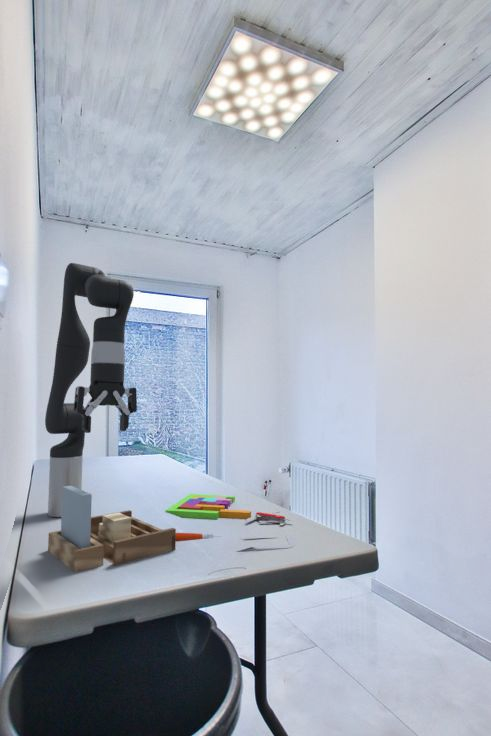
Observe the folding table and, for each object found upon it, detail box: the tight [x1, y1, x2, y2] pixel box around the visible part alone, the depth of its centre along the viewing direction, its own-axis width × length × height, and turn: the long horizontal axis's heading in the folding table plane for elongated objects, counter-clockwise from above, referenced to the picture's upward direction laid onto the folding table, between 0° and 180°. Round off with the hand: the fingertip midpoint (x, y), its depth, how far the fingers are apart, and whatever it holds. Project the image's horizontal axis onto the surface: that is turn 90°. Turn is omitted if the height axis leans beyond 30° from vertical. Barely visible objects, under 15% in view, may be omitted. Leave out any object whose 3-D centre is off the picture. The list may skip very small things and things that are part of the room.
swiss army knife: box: [244, 511, 293, 526], centre depth 121 cm, size 12×14×2 cm
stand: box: [47, 529, 104, 573], centre depth 90 cm, size 16×7×5 cm, turn 42°
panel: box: [60, 486, 93, 549], centre depth 91 cm, size 12×2×14 cm, turn 41°
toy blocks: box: [165, 493, 252, 520], centre depth 136 cm, size 23×2×25 cm
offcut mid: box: [99, 523, 131, 542], centre depth 98 cm, size 8×4×2 cm, turn 42°
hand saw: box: [176, 532, 295, 553], centre depth 101 cm, size 33×3×10 cm
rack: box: [90, 509, 177, 566], centre depth 99 cm, size 22×14×6 cm, turn 42°
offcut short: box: [102, 512, 131, 531], centre depth 97 cm, size 6×4×2 cm, turn 42°
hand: (105, 431), depth 100 cm, fingers open, 8 cm apart
